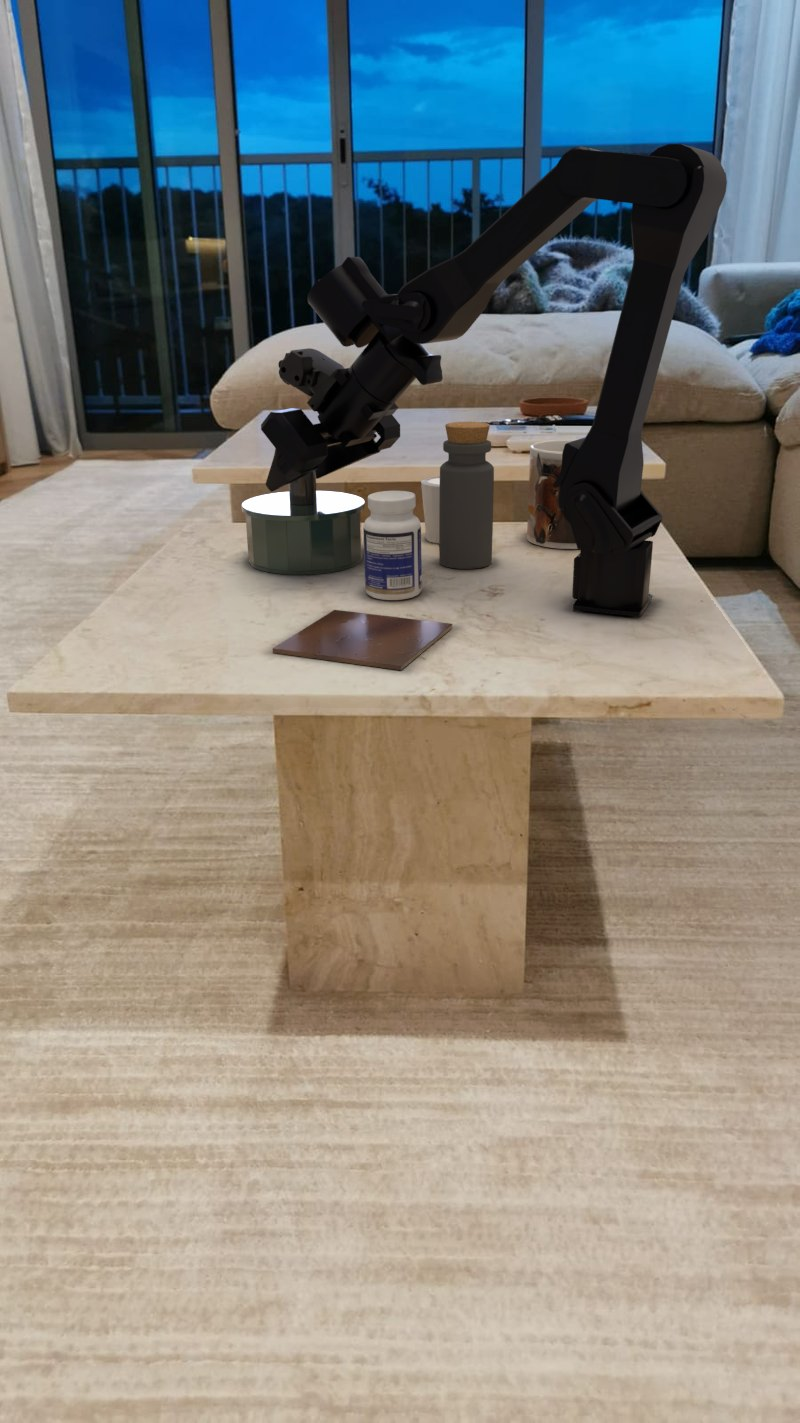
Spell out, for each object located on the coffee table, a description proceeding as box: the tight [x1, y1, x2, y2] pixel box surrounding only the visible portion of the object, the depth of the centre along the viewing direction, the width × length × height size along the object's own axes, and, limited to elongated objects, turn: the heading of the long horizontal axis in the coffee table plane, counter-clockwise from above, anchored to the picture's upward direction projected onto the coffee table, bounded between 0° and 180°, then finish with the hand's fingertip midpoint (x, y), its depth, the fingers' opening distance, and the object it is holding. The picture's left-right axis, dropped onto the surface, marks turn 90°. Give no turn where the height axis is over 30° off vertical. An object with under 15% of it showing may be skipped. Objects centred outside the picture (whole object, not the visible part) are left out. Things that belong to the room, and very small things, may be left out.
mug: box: [526, 439, 579, 550], centre depth 125 cm, size 10×12×11 cm
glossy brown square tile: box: [272, 609, 453, 671], centre depth 95 cm, size 12×12×1 cm
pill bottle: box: [362, 490, 423, 601], centre depth 106 cm, size 6×6×10 cm
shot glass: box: [420, 476, 440, 545], centre depth 128 cm, size 7×7×7 cm
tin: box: [245, 511, 363, 576], centre depth 120 cm, size 13×13×6 cm
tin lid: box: [241, 470, 366, 521], centre depth 118 cm, size 14×14×7 cm
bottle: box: [438, 421, 495, 570], centre depth 116 cm, size 6×6×15 cm
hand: (292, 481), depth 118 cm, fingers open, 8 cm apart
